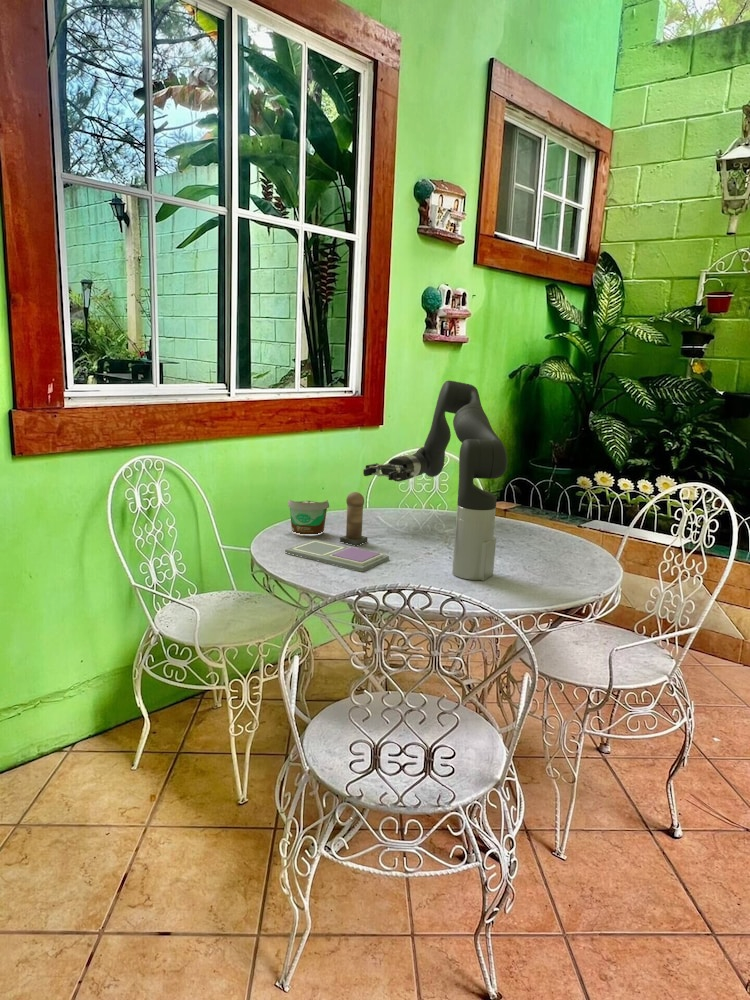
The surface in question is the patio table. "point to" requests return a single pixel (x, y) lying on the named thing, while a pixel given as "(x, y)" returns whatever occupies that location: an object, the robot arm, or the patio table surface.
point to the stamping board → (338, 555)
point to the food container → (308, 516)
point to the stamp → (354, 520)
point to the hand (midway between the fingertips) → (377, 474)
